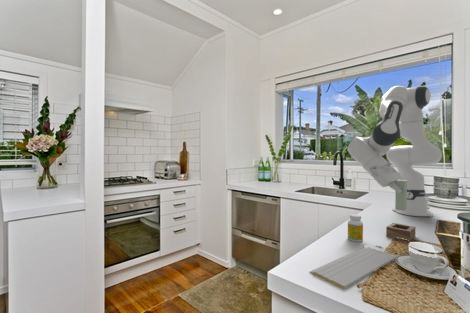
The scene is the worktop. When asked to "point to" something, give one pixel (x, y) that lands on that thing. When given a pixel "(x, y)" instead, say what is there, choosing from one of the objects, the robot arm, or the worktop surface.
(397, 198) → the sage green tall block
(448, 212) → the worktop surface
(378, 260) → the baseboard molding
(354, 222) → the supplement bottle
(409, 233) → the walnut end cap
